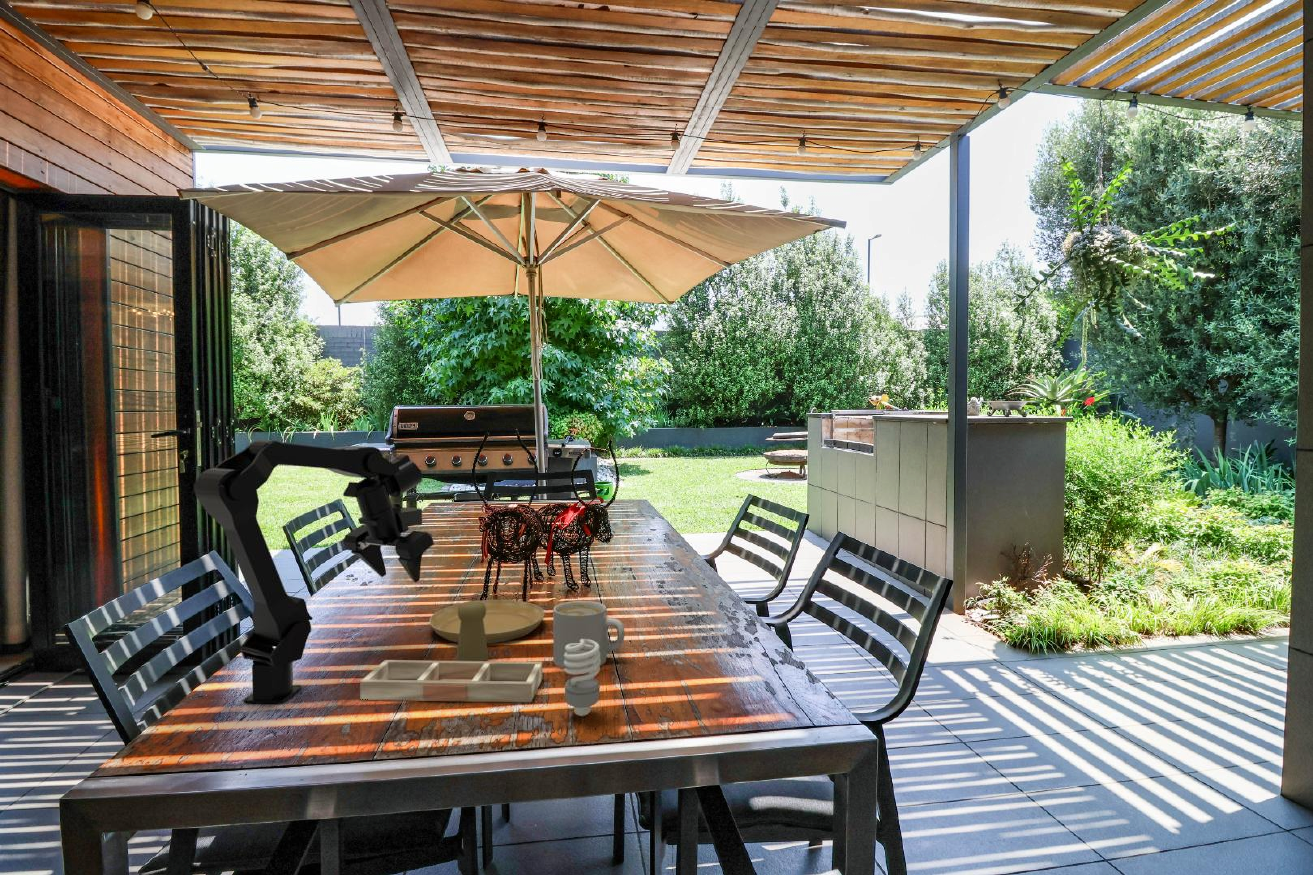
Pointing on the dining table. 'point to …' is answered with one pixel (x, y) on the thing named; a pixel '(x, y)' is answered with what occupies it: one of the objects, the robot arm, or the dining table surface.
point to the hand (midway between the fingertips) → (400, 578)
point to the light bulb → (586, 687)
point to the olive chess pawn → (472, 632)
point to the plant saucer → (492, 620)
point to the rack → (452, 681)
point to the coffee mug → (583, 628)
